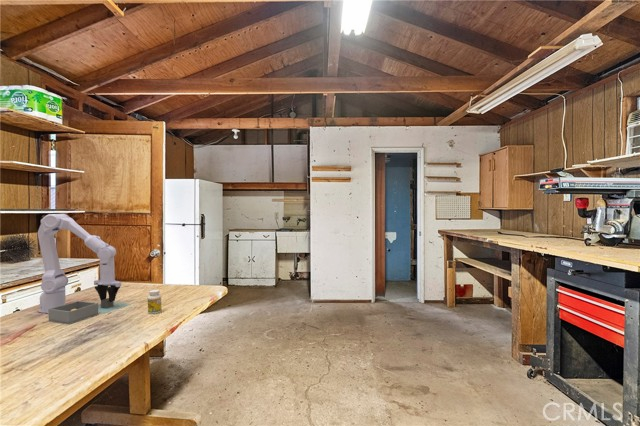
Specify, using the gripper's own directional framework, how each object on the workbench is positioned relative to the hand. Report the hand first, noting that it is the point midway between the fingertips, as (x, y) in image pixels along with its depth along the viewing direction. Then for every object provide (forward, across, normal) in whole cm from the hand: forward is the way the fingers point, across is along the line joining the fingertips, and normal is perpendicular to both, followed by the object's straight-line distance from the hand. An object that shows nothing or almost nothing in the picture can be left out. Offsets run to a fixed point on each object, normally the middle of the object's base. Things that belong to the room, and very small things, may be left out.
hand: (107, 300), depth 147 cm
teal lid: (+4, 0, 0) cm, 4 cm away
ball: (+1, 0, -15) cm, 15 cm away
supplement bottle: (+3, +27, 0) cm, 27 cm away
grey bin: (+3, 0, -15) cm, 15 cm away
